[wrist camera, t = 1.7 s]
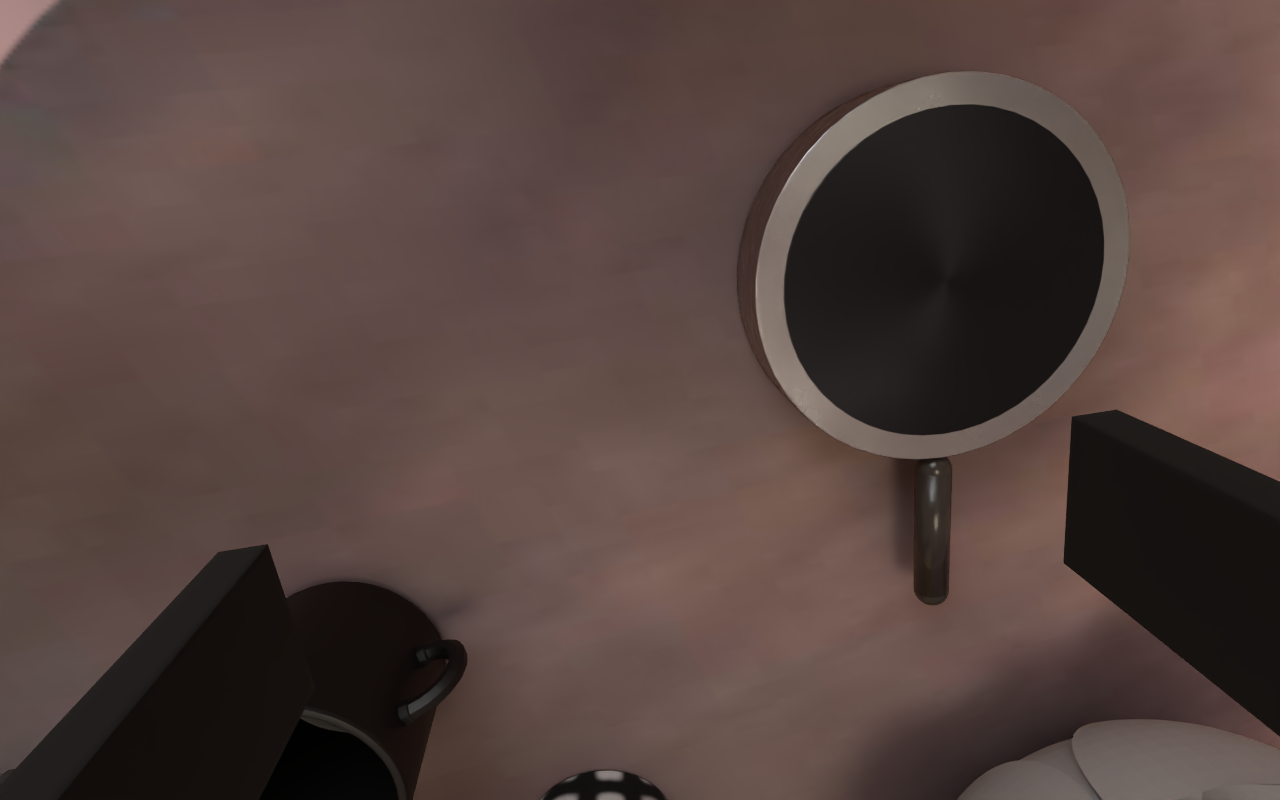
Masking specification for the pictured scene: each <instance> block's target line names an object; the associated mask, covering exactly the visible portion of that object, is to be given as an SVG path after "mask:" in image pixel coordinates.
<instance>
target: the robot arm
mask: <svg viewBox="0 0 1280 800" xmlns="http://www.w3.org/2000/svg"><path fill="white" fill-rule="evenodd" d="M1064 564H1066V565H1067V566H1068V567H1069V568H1071V569H1072V570H1073V571H1074V572H1076V573H1077V574H1078V575H1079V576H1081V577H1082V578H1083V579H1084V580H1086V581H1087V582H1088V583H1089V584H1091V585H1092V586H1093V587H1094V588H1096V589H1097V590H1098V591H1099V592H1101V593H1102V594H1103V595H1104V596H1106V597H1107V598H1108V599H1109V600H1111V601H1112V602H1113V603H1114V604H1116V605H1117V606H1118V607H1119V608H1120V609H1122V610H1123V611H1124V612H1125V613H1127V614H1128V615H1129V616H1130V617H1132V618H1133V619H1134V620H1135V621H1137V622H1138V623H1139V624H1140V625H1142V626H1143V627H1144V628H1145V629H1147V630H1148V631H1149V632H1150V633H1152V634H1153V635H1154V636H1155V637H1157V638H1158V639H1159V640H1160V641H1162V642H1163V643H1164V644H1165V645H1167V646H1168V647H1169V648H1170V649H1172V650H1173V651H1174V652H1175V653H1177V654H1178V655H1179V656H1180V657H1181V658H1183V659H1184V660H1185V661H1186V662H1188V663H1189V664H1190V665H1191V666H1193V667H1194V668H1195V669H1196V670H1198V671H1199V672H1200V673H1201V674H1203V675H1204V676H1205V677H1206V678H1208V679H1209V680H1210V681H1211V682H1213V683H1214V684H1215V685H1216V686H1218V687H1219V688H1220V689H1221V690H1223V691H1224V692H1225V693H1226V694H1228V695H1229V696H1230V697H1231V698H1233V699H1234V700H1235V701H1236V702H1238V703H1239V704H1240V705H1241V706H1242V707H1244V708H1245V709H1246V710H1247V711H1249V712H1250V713H1251V714H1252V715H1254V716H1255V717H1256V718H1257V719H1259V720H1260V721H1261V722H1262V723H1264V724H1265V725H1266V726H1267V727H1269V728H1270V729H1271V730H1272V731H1274V732H1275V733H1276V734H1277V735H1279V736H1280V482H1279V481H1277V480H1275V479H1273V478H1270V477H1268V476H1266V475H1263V474H1261V473H1259V472H1257V471H1254V470H1252V469H1250V468H1248V467H1245V466H1243V465H1241V464H1239V463H1236V462H1234V461H1232V460H1230V459H1227V458H1225V457H1223V456H1220V455H1218V454H1216V453H1214V452H1211V451H1209V450H1207V449H1205V448H1202V447H1200V446H1198V445H1196V444H1193V443H1191V442H1189V441H1186V440H1184V439H1182V438H1180V437H1177V436H1175V435H1173V434H1171V433H1168V432H1166V431H1164V430H1162V429H1159V428H1157V427H1155V426H1153V425H1150V424H1148V423H1146V422H1143V421H1141V420H1139V419H1137V418H1134V417H1132V416H1130V415H1128V414H1125V413H1123V412H1121V411H1119V410H1111V411H1105V412H1099V413H1092V414H1086V415H1080V416H1073V417H1072V424H1071V441H1070V459H1069V476H1068V494H1067V511H1066V529H1065V546H1064ZM314 689H315V685H314V682H313V679H312V676H311V673H310V670H309V667H308V664H307V661H306V658H305V655H304V652H303V649H302V646H301V643H300V640H299V637H298V634H297V631H296V628H295V625H294V622H293V619H292V616H291V613H290V610H289V607H288V604H287V601H286V598H285V595H284V592H283V589H282V586H281V583H280V580H279V577H278V574H277V571H276V568H275V565H274V562H273V559H272V556H271V553H270V550H269V547H268V544H267V545H260V546H254V547H248V548H242V549H235V550H229V551H223V552H218V553H217V554H216V555H215V556H214V557H213V559H212V560H211V561H210V562H209V563H208V564H207V565H206V566H205V567H204V568H203V569H202V570H201V571H200V572H199V573H198V575H197V576H196V577H195V578H194V579H193V580H192V581H191V582H190V583H189V584H188V585H187V586H186V587H185V588H184V589H183V591H182V592H181V593H180V594H179V595H178V596H177V597H176V598H175V599H174V600H173V601H172V602H171V603H170V604H169V606H168V607H167V608H166V609H165V610H164V611H163V612H162V613H161V614H160V615H159V616H158V617H157V618H156V619H155V620H154V622H153V623H152V624H151V625H150V626H149V627H148V628H147V629H146V630H145V631H144V632H143V633H142V634H141V635H140V637H139V638H138V639H137V640H136V641H135V642H134V643H133V644H132V645H131V646H130V647H129V648H128V649H127V650H126V651H125V653H124V654H123V655H122V656H121V657H120V658H119V659H118V660H117V661H116V662H115V663H114V664H113V665H112V666H111V667H110V669H109V670H108V671H107V672H106V673H105V674H104V675H103V676H102V677H101V678H100V679H99V680H98V681H97V682H96V684H95V685H94V686H93V687H92V688H91V689H90V690H89V691H88V692H87V693H86V694H85V695H84V696H83V697H82V698H81V700H80V701H79V702H78V703H77V704H76V705H75V706H74V707H73V708H72V709H71V710H70V711H69V712H68V713H67V714H66V716H65V717H64V718H63V719H62V720H61V721H60V722H59V723H58V724H57V725H56V726H55V727H54V728H53V729H52V731H51V732H50V733H49V734H48V735H47V736H46V737H45V738H44V739H43V740H42V741H41V742H40V743H39V744H38V745H37V747H36V748H35V749H34V750H33V751H32V752H31V753H30V754H29V755H28V756H27V757H26V758H25V759H24V760H23V762H22V763H21V764H20V765H19V766H18V767H17V768H16V769H12V770H8V771H7V772H5V773H4V774H3V775H1V776H0V800H259V799H260V797H261V795H262V793H263V791H264V789H265V787H266V785H267V783H268V781H269V779H270V777H271V775H272V773H273V771H274V769H275V767H276V765H277V763H278V761H279V759H280V757H281V755H282V753H283V751H284V749H285V747H286V745H287V743H288V741H289V739H290V737H291V735H292V733H293V731H294V729H295V727H296V725H297V723H298V721H299V719H300V717H301V715H302V713H303V711H304V709H305V707H306V705H307V703H308V701H309V699H310V697H311V695H312V693H313V691H314Z"/></svg>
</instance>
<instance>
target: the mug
mask: <svg viewBox="0 0 1280 800" xmlns="http://www.w3.org/2000/svg"><path fill="white" fill-rule="evenodd" d="M286 601H287V604H288V607H289V610H290V613H291V616H292V619H293V622H294V625H295V628H296V631H297V634H298V637H299V640H300V643H301V646H302V649H303V652H304V655H305V658H306V661H307V664H308V667H309V670H310V673H311V676H312V679H313V682H314V685H315V689H314V691H313V693H312V695H311V697H310V699H309V701H308V703H307V705H306V707H305V709H304V711H303V713H302V715H301V717H300V719H299V721H298V723H297V725H296V727H295V729H294V731H293V733H292V735H291V737H290V739H289V741H288V743H287V745H286V747H285V749H284V751H283V753H282V755H281V757H280V759H279V761H278V763H277V765H276V767H275V769H274V771H273V773H272V775H271V777H270V779H269V781H268V783H267V785H266V787H265V789H264V791H263V793H262V795H261V797H260V799H259V800H412V799H413V795H414V791H415V788H416V784H417V780H418V776H419V772H420V768H421V764H422V761H423V757H424V753H425V749H426V745H427V741H428V737H429V733H430V730H431V726H432V722H433V718H434V714H435V710H436V706H437V705H438V704H439V703H440V702H441V701H442V700H443V699H444V698H445V697H446V696H447V695H448V694H449V693H450V692H451V691H452V690H453V689H454V687H455V686H456V685H457V683H458V682H459V681H460V679H461V677H462V675H463V673H464V671H465V668H466V666H467V653H466V651H465V648H464V646H463V645H462V644H461V643H460V642H459V641H457V640H439V637H438V635H437V633H436V631H435V629H434V627H433V626H432V624H431V623H430V621H429V620H428V619H427V618H426V616H425V615H424V614H423V613H422V612H421V611H420V610H419V609H418V608H417V607H416V606H415V605H413V604H412V603H411V602H409V601H408V600H406V599H405V598H403V597H401V596H400V595H398V594H396V593H394V592H392V591H390V590H387V589H384V588H381V587H378V586H375V585H370V584H365V583H360V582H333V583H326V584H321V585H317V586H314V587H311V588H308V589H305V590H303V591H300V592H298V593H296V594H294V595H292V596H290V597H289V598H287V599H286ZM445 659H448V660H449V661H448V664H447V666H446V668H445Z"/></svg>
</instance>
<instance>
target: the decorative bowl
mask: <svg viewBox="0 0 1280 800" xmlns="http://www.w3.org/2000/svg"><path fill="white" fill-rule="evenodd" d="M957 800H1280V749H1278V748H1275V747H1273V746H1270V745H1268V744H1265V743H1262V742H1260V741H1257V740H1254V739H1251V738H1248V737H1245V736H1242V735H1239V734H1235V733H1232V732H1228V731H1225V730H1221V729H1217V728H1212V727H1208V726H1203V725H1197V724H1192V723H1186V722H1179V721H1169V720H1156V719H1122V720H1109V721H1101V722H1094V723H1090V724H1087V725H1084V726H1082V727H1080V728H1079V729H1078V730H1076V732H1075V733H1074V735H1073V738H1071V739H1068V740H1065V741H1061V742H1058V743H1056V744H1053V745H1050V746H1047V747H1045V748H1043V749H1040V750H1038V751H1036V752H1034V753H1032V754H1030V755H1028V756H1026V757H1024V758H1022V759H1021V760H1019V761H1011V762H1007V763H1004V764H1001V765H999V766H996V767H994V768H992V769H990V770H989V771H987V772H985V773H984V774H983V775H981V776H980V777H979V778H977V779H976V780H975V781H974V782H973V783H972V784H971V785H970V786H968V787H967V788H966V790H965V791H964V792H963V793H962V794H961V795H960V796H959V797H958V799H957Z"/></svg>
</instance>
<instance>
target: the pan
mask: <svg viewBox="0 0 1280 800" xmlns="http://www.w3.org/2000/svg"><path fill="white" fill-rule="evenodd" d="M1129 247H1130V227H1129V216H1128V207H1127V202H1126V198H1125V193H1124V189H1123V185H1122V182H1121V179H1120V177H1119V174H1118V171H1117V169H1116V166H1115V163H1114V161H1113V159H1112V157H1111V156H1110V154H1109V152H1108V150H1107V148H1106V147H1105V145H1104V143H1103V141H1102V140H1101V138H1100V137H1099V136H1098V135H1097V133H1096V132H1095V131H1094V130H1093V128H1092V127H1091V126H1090V124H1089V123H1088V122H1087V121H1086V120H1085V119H1084V118H1083V117H1082V116H1081V115H1080V114H1079V113H1078V112H1077V111H1075V110H1074V109H1073V108H1072V107H1071V106H1070V105H1069V104H1068V103H1066V102H1065V101H1063V100H1062V99H1060V98H1059V97H1057V96H1056V95H1054V94H1053V93H1051V92H1050V91H1048V90H1046V89H1044V88H1041V87H1039V86H1037V85H1035V84H1033V83H1030V82H1028V81H1026V80H1023V79H1019V78H1015V77H1012V76H1008V75H1005V74H1001V73H992V72H983V71H952V72H944V73H939V74H933V75H928V76H922V77H919V78H915V79H911V80H908V81H904V82H900V83H896V84H893V85H889V86H886V87H883V88H880V89H876V90H873V91H870V92H867V93H864V94H862V95H860V96H858V97H856V98H854V99H851V100H849V101H847V102H845V103H843V104H841V105H839V106H838V107H836V108H835V109H833V110H832V111H830V112H829V113H827V114H826V115H824V116H823V117H821V118H820V119H818V120H817V121H816V122H815V123H814V124H812V125H811V126H810V127H809V128H808V129H807V130H805V131H804V132H803V133H802V134H801V135H800V136H799V137H798V138H797V139H796V140H795V141H794V142H793V143H792V144H791V145H790V147H789V148H788V149H787V150H786V151H785V152H784V153H783V154H782V155H781V157H780V158H779V160H778V161H777V163H776V164H775V165H774V167H773V168H772V170H771V171H770V172H769V174H768V175H767V177H766V179H765V181H764V183H763V184H762V186H761V188H760V190H759V192H758V194H757V196H756V197H755V200H754V202H753V205H752V207H751V210H750V213H749V215H748V218H747V220H746V224H745V228H744V232H743V236H742V240H741V243H740V250H739V258H738V266H737V293H738V300H739V308H740V314H741V318H742V322H743V325H744V329H745V333H746V336H747V338H748V340H749V343H750V345H751V347H752V350H753V352H754V354H755V356H756V358H757V359H758V361H759V363H760V364H761V366H762V368H763V369H764V371H765V373H766V374H767V375H768V376H769V378H770V379H771V380H772V381H773V382H774V384H775V385H776V386H777V387H778V389H779V390H780V391H781V392H782V393H783V394H784V395H785V396H786V397H787V398H788V399H789V400H790V401H791V402H792V404H793V405H794V406H795V407H796V408H797V409H798V410H799V411H800V412H801V413H802V414H803V415H804V416H805V417H807V418H808V419H809V420H810V421H811V422H812V423H813V424H814V425H815V426H817V427H818V428H820V429H821V430H823V431H824V432H825V433H827V434H828V435H830V436H831V437H833V438H835V439H837V440H839V441H841V442H843V443H845V444H847V445H849V446H851V447H853V448H856V449H859V450H862V451H865V452H868V453H871V454H874V455H880V456H885V457H891V458H898V459H917V461H916V463H915V493H914V592H915V595H916V596H917V598H918V599H919V600H920V601H921V602H923V603H925V604H927V605H938V604H941V603H942V602H944V601H945V599H946V598H947V596H948V593H949V566H950V529H951V493H952V465H951V462H950V460H949V459H948V458H947V456H952V455H957V454H962V453H966V452H969V451H972V450H975V449H978V448H981V447H984V446H987V445H989V444H991V443H994V442H996V441H998V440H1000V439H1002V438H1004V437H1007V436H1008V435H1010V434H1012V433H1014V432H1015V431H1017V430H1019V429H1020V428H1022V427H1024V426H1025V425H1027V424H1028V423H1030V422H1031V421H1032V420H1034V419H1035V418H1036V417H1038V416H1039V415H1040V414H1042V413H1043V412H1044V411H1046V410H1047V409H1048V408H1049V407H1050V406H1051V405H1053V404H1054V403H1055V402H1056V401H1057V400H1058V399H1059V398H1060V397H1061V396H1062V395H1063V394H1064V393H1065V392H1066V391H1067V390H1068V389H1069V388H1070V387H1071V385H1072V384H1073V383H1074V382H1075V381H1076V380H1077V379H1078V377H1079V376H1080V375H1081V374H1082V373H1083V371H1084V370H1085V368H1086V367H1087V365H1088V364H1089V363H1090V361H1091V360H1092V358H1093V357H1094V355H1095V354H1096V352H1097V351H1098V349H1099V347H1100V345H1101V343H1102V341H1103V340H1104V338H1105V336H1106V334H1107V332H1108V330H1109V328H1110V326H1111V323H1112V321H1113V318H1114V316H1115V313H1116V311H1117V309H1118V306H1119V302H1120V299H1121V295H1122V292H1123V288H1124V285H1125V280H1126V274H1127V268H1128V261H1129Z"/></svg>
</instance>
